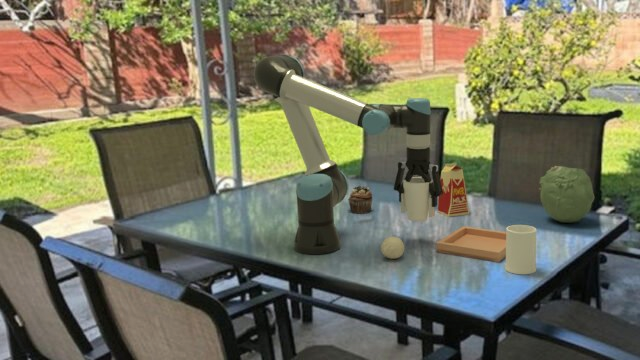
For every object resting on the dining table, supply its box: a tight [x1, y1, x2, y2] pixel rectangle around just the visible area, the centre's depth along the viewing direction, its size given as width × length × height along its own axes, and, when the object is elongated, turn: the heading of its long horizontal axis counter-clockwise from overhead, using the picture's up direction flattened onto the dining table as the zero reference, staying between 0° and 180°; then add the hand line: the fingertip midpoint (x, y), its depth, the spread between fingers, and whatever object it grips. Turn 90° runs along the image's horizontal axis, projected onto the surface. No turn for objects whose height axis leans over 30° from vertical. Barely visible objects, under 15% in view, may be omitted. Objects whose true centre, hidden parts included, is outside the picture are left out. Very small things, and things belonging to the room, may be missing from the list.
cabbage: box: [538, 165, 595, 224], centre depth 218 cm, size 16×19×20 cm
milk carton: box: [437, 162, 470, 218], centre depth 237 cm, size 9×9×20 cm
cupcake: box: [347, 185, 374, 214], centre depth 247 cm, size 10×10×10 cm
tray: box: [436, 226, 506, 263], centre depth 198 cm, size 20×20×3 cm
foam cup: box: [402, 176, 434, 222], centre depth 205 cm, size 10×9×13 cm
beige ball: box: [380, 236, 405, 260], centre depth 192 cm, size 7×7×7 cm
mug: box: [504, 224, 537, 275], centre depth 178 cm, size 12×8×12 cm
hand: (417, 213), depth 206 cm, fingers closed on foam cup, 9 cm apart
